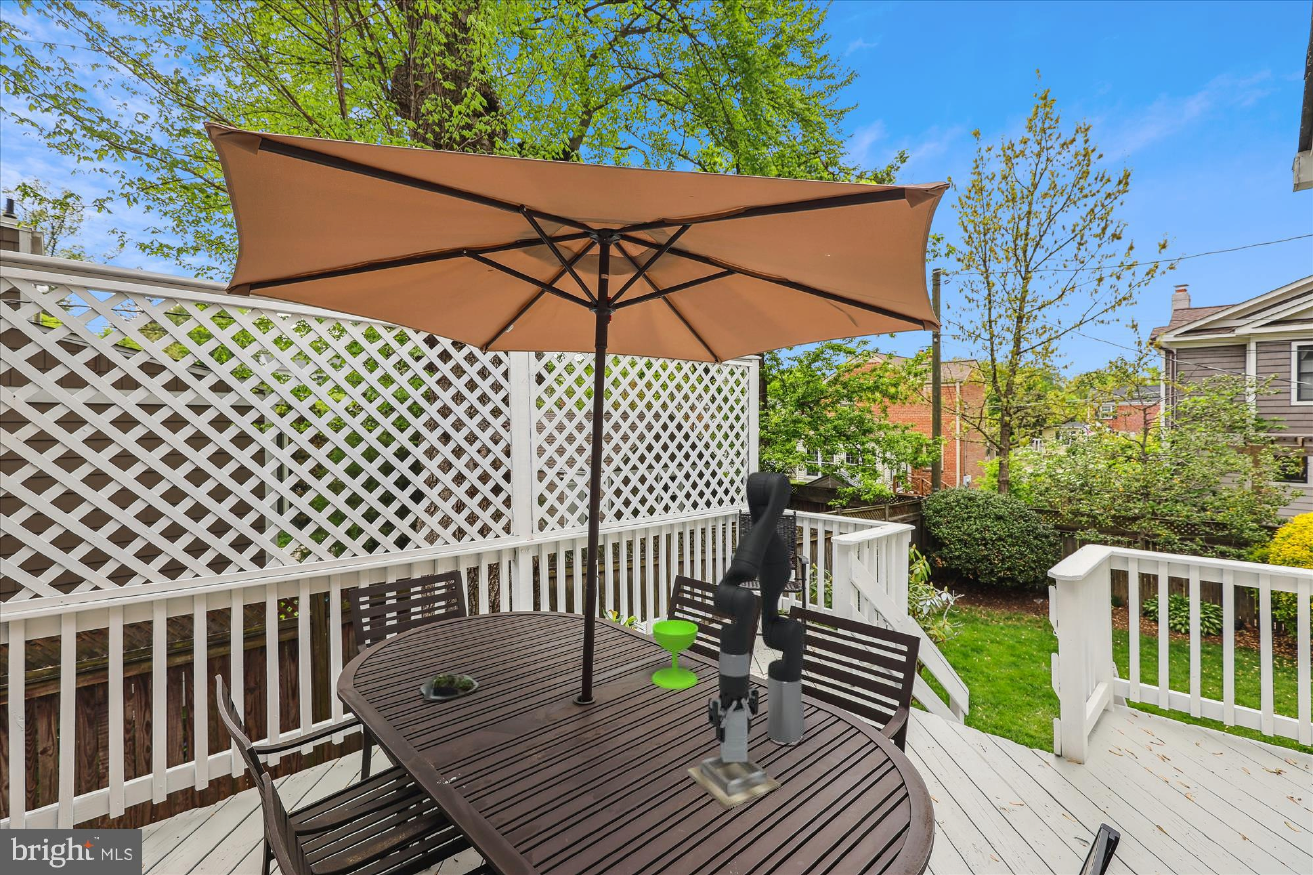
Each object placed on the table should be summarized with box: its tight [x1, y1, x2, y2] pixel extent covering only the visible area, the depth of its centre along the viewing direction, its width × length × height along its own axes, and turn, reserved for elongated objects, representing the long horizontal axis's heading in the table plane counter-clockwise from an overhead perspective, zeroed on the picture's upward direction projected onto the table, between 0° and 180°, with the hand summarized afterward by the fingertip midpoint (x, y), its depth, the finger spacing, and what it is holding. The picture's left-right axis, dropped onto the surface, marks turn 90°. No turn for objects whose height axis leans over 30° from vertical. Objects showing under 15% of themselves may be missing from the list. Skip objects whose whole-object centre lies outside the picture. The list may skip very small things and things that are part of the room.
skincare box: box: [720, 708, 748, 762], centre depth 135 cm, size 6×4×12 cm
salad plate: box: [419, 673, 480, 703], centre depth 184 cm, size 19×18×5 cm
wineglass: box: [651, 619, 699, 690], centre depth 194 cm, size 16×16×18 cm
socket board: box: [687, 754, 782, 811], centre depth 135 cm, size 16×16×4 cm
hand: (733, 737), depth 135 cm, fingers closed on skincare box, 7 cm apart
